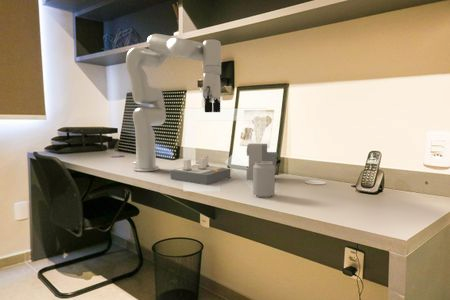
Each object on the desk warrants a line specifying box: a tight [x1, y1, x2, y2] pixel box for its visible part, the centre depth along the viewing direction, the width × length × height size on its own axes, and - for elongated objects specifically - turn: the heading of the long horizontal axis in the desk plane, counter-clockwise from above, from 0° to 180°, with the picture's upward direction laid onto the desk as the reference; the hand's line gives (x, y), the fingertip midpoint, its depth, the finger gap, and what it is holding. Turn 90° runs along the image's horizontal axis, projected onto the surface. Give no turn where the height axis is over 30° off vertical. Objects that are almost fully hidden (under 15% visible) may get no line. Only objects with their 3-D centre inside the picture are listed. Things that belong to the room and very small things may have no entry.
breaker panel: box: [170, 164, 231, 186], centre depth 144 cm, size 20×17×4 cm
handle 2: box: [201, 155, 210, 166], centre depth 150 cm, size 3×3×4 cm
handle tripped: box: [198, 157, 207, 169], centre depth 143 cm, size 3×3×4 cm
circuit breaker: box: [246, 142, 282, 181], centre depth 143 cm, size 8×14×15 cm, turn 78°
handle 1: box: [182, 158, 192, 170], centre depth 140 cm, size 3×3×4 cm
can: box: [252, 161, 276, 198], centre depth 114 cm, size 8×8×12 cm
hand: (212, 112), depth 139 cm, fingers open, 9 cm apart
